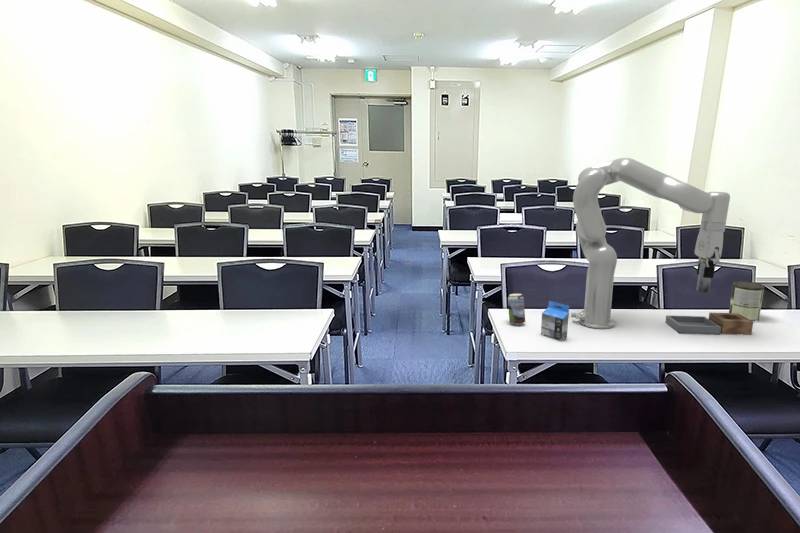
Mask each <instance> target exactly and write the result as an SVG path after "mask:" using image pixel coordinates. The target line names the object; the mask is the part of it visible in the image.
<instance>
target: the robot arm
mask: <svg viewBox="0 0 800 533" xmlns="http://www.w3.org/2000/svg"><path fill="white" fill-rule="evenodd" d="M577 182H578V183H577V184H576V187H575V189H574V191H573V195H572V203H573V208H574V212H575V216H576V218H577V221H576V224H575V225H576V226H575V229H576V230H575V231H576V234H577V237H578V240H579V244H580V247H581V250H582V253H583V255H584V258H585V259H586V260H587V261H588V267H587V272H586V279H585V280H586V282H585V293H584V294H585V296H584V308H583V309H582V310H581V311H579V312H571V313H570V317H571V318H575V319H576V320H578V321H579V322H578V323H581V324H580V325H582V324H583V325H582V326H584V325H585V326H584V327H588V328H593V329H601V330H602V329H603V330H604V329H610V328H611V329H612V328H613V327H614V326H615V322H614V320H612V319H611V311H612V301H613V290H614V289H613V288H614V277H615V272H616V266H617V263H618V256H617V252H616V251H615V249H614V247H613V246H611V245H610V244H608V243H607V239H606V234H607V225H606V223H605V220H604V217H603V215H602V211H601V209H600V208H601V207H600V204H599V194H600V192H601V190H603V188H604V187H605V186H609V185H612V184H614V183H619V182H622V183H625V184H626V185H628V186H631V187H633V188H635V189H637V190H639V191H640V192H643V193H645V194H647V195H650V196H652V197H655V198H659V199H662V200H666V201H669V202H672V203H673V204H676V205H678V207H679V208H680V209H681V210H683V211H686V212H689V213H694V214H701V218H700V219H701V221H700V226H699V231H698V234H697V239H696V243H695V247H694V255H695V256H697V258H698V259H697V260H698V261H697V270H696V274H697V276H699V269H700V263H701V258H705V259H706V267H705V268H704V274H703V277H704V278H711V279H713V278H714V277H715V276H714V275H715V269H716V268H717V265H718V263H720V261H721V260H720V259H721V257H722V252H723V246H724V232H726V231H725V230H726V227H727V226H726V225H727V220H728V212H729V207H730V201H731V195H730V193H729V192H723V191H709V192H708V191H707V192H706V191H704V190H702V189H700V188H697V187H696V186H693V185H691V184H689V183H687V182H684V181H681V180H679V179H677V178H675V177H673V176H672V175H668V174H666V173H663V172H661V171H659V170H657V169H655V168H653V167H651V166H649V165H646V164H645V163H642V162H640V161H638V160H636V159H633V158H630V157H621V158H620V157H619V158H616V159H613V160H611V161H610V160H609V161H607V162H603V163H601V164H596V165H593V166H589V167H586V168H585V169H583V170H582V171H580V173H579V175H578V178H577ZM710 260H713V261H711V262H710ZM709 262H710V263H709Z"/></svg>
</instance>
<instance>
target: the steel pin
mask: <svg viewBox="0 0 800 533" xmlns="http://www.w3.org/2000/svg"><path fill="white" fill-rule="evenodd" d="M711 261H713V260H710V262H711ZM710 262H709V263H710ZM705 267H706V259H705V258H701V263H700V269H699V275H697V276H698V277H697V284H696V289H695V290H696V291H697V292H700V293H710V287H711V280H712V278H704V277H703V274H704V268H705Z"/></svg>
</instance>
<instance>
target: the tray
mask: <svg viewBox="0 0 800 533" xmlns="http://www.w3.org/2000/svg"><path fill="white" fill-rule="evenodd" d="M666 323H667V326H669V327H670V328H671V329H672V330H674V331H675V332H677V333H678V334H683V335H686V334H687V335H688V334H689V335H711V334H713V335H714V334H715V335H714V336H717V335H719V336H720V335H721V333H720V332H721V327H720V326H719V325H717V324H716V323H714V322H713V321H711V320H709V317H708V318H707V317H706V316H698V315H697V316H696V315H695V316H694V315H669V314H668V315H666V316H665V324H666Z"/></svg>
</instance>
